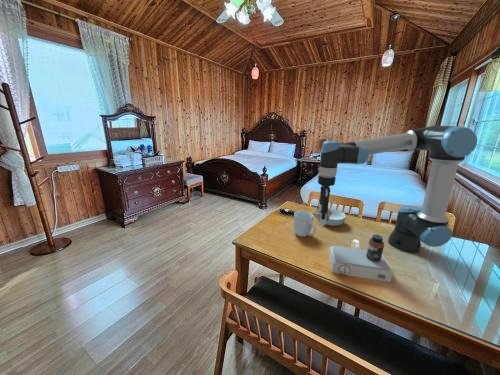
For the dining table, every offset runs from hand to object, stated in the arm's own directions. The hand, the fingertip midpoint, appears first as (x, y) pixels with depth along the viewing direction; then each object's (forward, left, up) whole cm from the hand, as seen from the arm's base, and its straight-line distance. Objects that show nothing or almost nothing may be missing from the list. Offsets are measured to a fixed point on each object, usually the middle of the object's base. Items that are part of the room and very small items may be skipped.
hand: (321, 220), depth 107 cm
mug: (+7, -18, -19) cm, 27 cm away
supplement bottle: (-24, +6, -13) cm, 28 cm away
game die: (0, 0, 0) cm, 1 cm away
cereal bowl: (-11, -39, -19) cm, 45 cm away
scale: (-18, +6, -19) cm, 27 cm away
